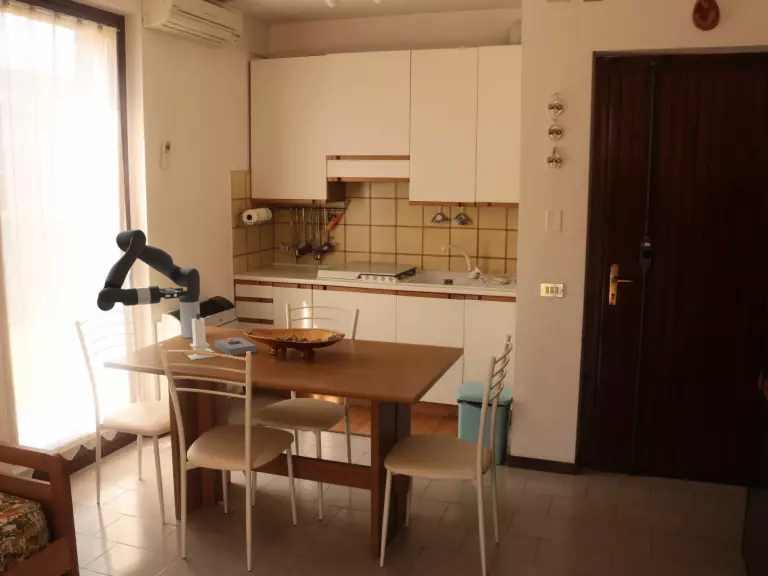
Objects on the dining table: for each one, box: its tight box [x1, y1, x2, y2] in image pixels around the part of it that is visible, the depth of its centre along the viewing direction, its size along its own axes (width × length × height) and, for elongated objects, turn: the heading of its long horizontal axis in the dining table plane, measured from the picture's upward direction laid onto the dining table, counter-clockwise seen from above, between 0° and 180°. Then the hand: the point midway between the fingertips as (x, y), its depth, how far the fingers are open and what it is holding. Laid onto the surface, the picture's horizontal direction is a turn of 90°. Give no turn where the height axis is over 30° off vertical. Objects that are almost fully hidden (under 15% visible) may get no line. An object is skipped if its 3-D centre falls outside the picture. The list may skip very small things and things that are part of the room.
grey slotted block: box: [214, 336, 257, 356], centre depth 346 cm, size 20×12×4 cm, turn 30°
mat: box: [187, 347, 217, 361], centre depth 338 cm, size 16×12×1 cm
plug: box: [189, 313, 210, 355], centre depth 337 cm, size 7×7×18 cm
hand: (185, 291), depth 334 cm, fingers open, 8 cm apart
